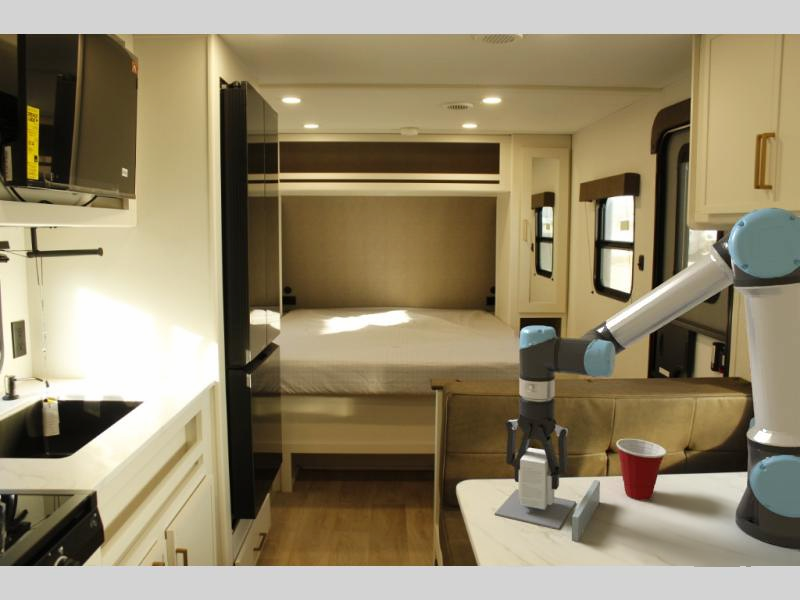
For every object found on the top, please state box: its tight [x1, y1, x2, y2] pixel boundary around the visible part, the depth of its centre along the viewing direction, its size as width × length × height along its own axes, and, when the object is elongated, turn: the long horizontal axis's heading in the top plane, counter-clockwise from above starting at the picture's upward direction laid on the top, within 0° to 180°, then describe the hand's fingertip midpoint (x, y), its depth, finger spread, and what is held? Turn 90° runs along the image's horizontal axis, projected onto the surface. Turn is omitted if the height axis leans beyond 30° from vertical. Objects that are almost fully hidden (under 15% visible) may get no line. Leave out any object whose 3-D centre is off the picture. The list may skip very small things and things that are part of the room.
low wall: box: [571, 479, 601, 543], centre depth 126 cm, size 1×20×5 cm, turn 150°
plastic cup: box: [616, 438, 667, 501], centre depth 137 cm, size 11×11×12 cm
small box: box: [520, 447, 551, 509], centre depth 131 cm, size 8×6×10 cm
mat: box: [494, 488, 577, 531], centre depth 132 cm, size 14×14×1 cm
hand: (536, 498), depth 132 cm, fingers closed on small box, 6 cm apart
